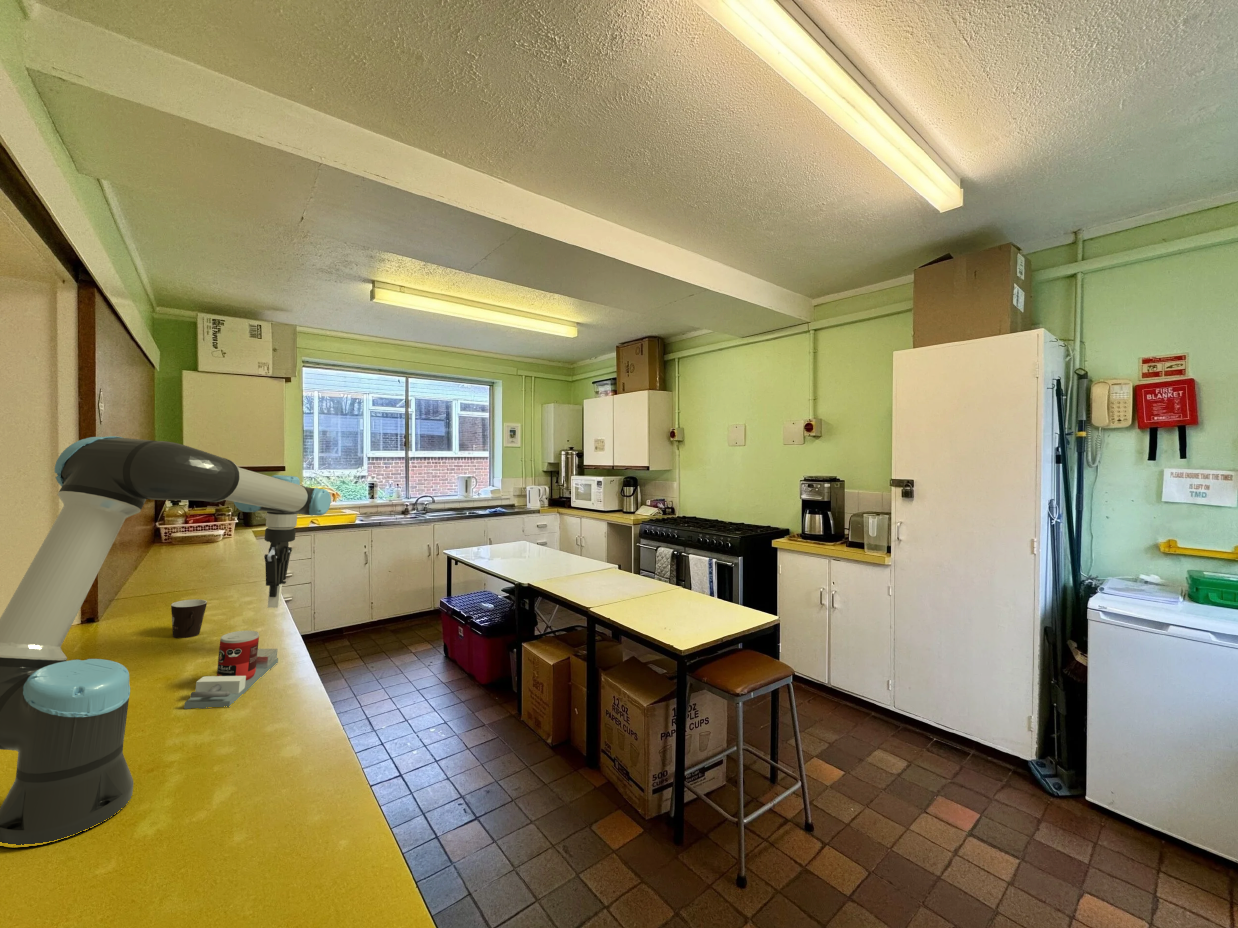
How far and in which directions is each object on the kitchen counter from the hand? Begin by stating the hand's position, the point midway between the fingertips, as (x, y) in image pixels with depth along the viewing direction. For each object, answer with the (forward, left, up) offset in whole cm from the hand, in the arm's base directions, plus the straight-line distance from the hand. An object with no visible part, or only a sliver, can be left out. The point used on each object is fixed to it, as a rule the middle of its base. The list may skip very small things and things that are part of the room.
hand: (273, 606), depth 145 cm
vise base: (-17, +8, -15) cm, 24 cm away
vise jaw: (-9, +4, -13) cm, 16 cm away
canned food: (-17, +8, -13) cm, 23 cm away
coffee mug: (+28, +20, -15) cm, 37 cm away
